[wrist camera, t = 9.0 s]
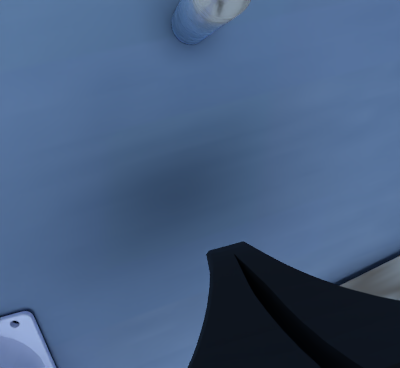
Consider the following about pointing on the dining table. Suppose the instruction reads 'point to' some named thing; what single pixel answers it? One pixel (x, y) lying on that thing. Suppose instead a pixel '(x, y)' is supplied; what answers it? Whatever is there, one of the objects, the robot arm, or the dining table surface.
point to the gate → (379, 280)
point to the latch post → (203, 17)
